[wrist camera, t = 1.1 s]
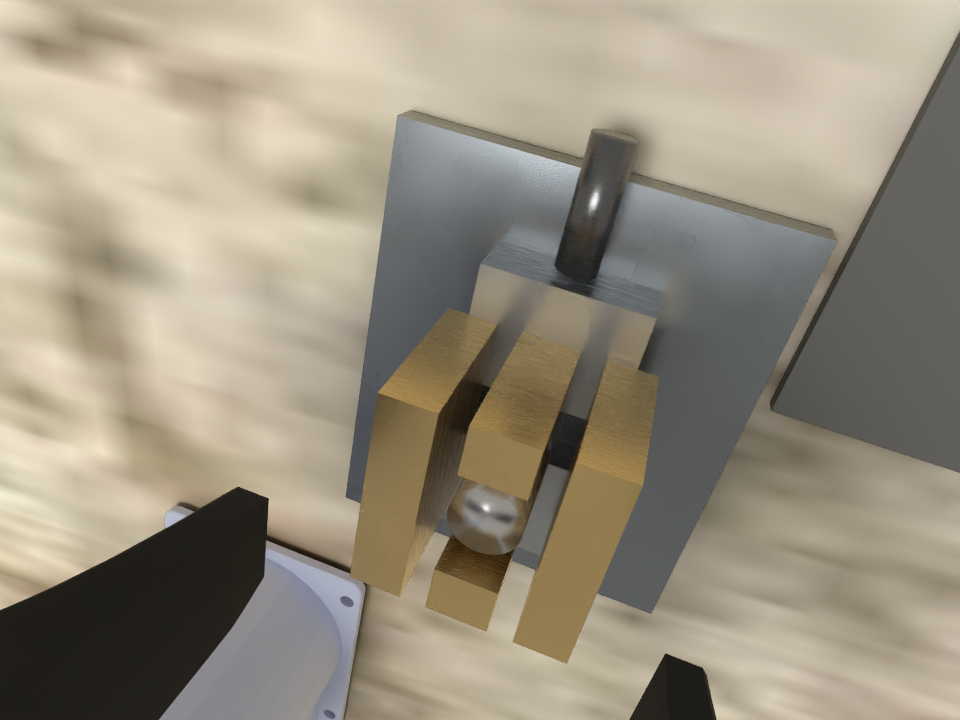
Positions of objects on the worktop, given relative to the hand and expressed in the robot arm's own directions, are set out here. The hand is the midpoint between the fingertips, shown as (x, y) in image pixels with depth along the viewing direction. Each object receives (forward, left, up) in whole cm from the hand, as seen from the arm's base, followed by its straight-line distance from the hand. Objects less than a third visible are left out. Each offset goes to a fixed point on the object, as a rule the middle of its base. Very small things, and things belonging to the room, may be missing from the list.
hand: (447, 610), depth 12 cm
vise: (0, 0, -8) cm, 8 cm away
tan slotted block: (0, 0, -6) cm, 6 cm away
